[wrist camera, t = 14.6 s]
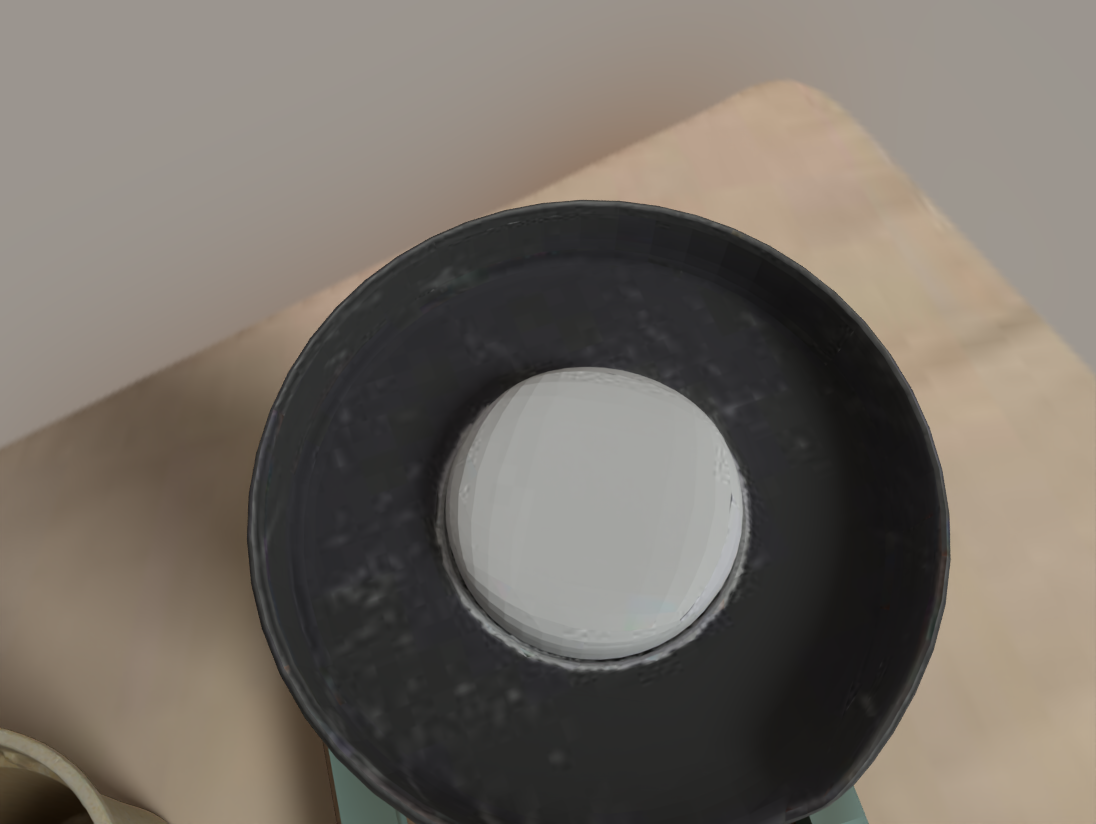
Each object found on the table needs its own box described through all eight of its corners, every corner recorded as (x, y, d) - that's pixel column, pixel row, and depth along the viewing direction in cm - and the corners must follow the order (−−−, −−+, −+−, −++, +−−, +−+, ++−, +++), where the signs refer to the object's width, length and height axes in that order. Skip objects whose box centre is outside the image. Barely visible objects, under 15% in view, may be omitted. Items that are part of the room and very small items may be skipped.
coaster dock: (383, 1053, 24) (365, 1079, 22) (293, 546, 30) (272, 523, 28) (881, 881, 26) (913, 888, 24) (703, 433, 32) (715, 403, 30)
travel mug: (518, 539, 30) (466, 102, 11) (728, 649, 28) (1056, 346, 10) (397, 755, 27) (71, 632, 9) (623, 889, 25) (807, 1085, 7)
